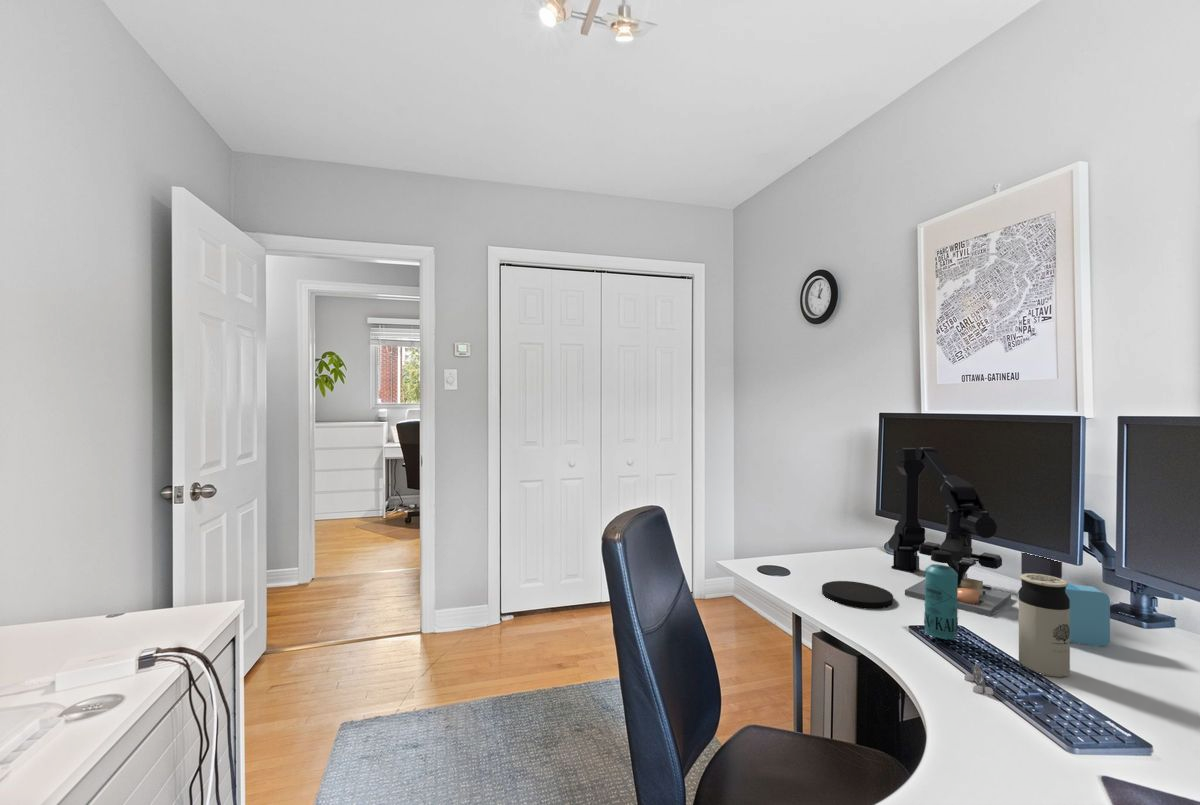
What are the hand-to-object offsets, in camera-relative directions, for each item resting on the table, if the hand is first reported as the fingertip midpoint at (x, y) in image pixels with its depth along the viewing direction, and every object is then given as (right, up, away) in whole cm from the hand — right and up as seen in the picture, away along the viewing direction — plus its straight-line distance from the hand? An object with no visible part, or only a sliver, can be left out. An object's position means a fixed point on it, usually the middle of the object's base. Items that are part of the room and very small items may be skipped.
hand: (958, 585), depth 151 cm
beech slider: (+2, -2, -2) cm, 4 cm away
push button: (-3, -2, -8) cm, 8 cm away
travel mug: (-11, -3, -42) cm, 44 cm away
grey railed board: (-1, -3, -1) cm, 3 cm away
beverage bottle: (-23, -3, -29) cm, 38 cm away
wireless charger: (-29, -3, -1) cm, 29 cm away
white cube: (+3, -2, +5) cm, 6 cm away
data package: (+7, -3, -28) cm, 29 cm away
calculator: (+27, -4, +4) cm, 27 cm away
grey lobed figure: (-31, -3, -54) cm, 62 cm away
